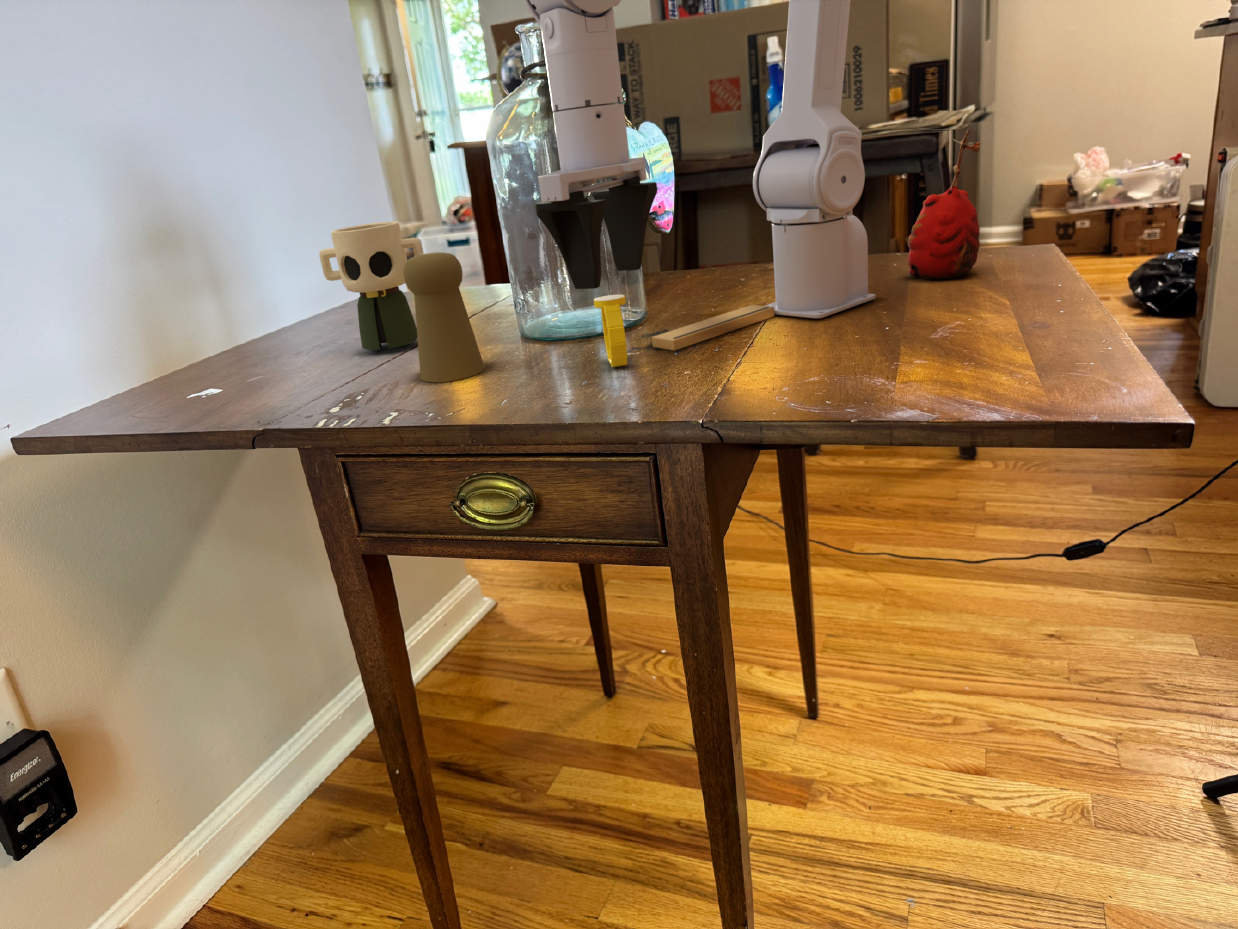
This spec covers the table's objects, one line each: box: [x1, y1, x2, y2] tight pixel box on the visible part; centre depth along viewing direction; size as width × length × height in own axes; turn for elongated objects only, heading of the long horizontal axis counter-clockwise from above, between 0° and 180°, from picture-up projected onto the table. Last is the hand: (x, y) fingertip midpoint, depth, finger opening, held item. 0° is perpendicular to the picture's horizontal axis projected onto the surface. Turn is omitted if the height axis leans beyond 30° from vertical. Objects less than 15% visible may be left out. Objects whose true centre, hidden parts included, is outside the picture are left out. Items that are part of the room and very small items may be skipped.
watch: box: [593, 294, 628, 368], centre depth 74 cm, size 6×3×6 cm, turn 7°
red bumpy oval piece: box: [907, 128, 981, 281], centre depth 91 cm, size 8×7×15 cm
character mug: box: [318, 221, 424, 351], centre depth 91 cm, size 11×7×13 cm, turn 91°
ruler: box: [651, 304, 775, 352], centre depth 82 cm, size 14×3×1 cm, turn 130°
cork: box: [404, 251, 486, 383], centre depth 77 cm, size 6×6×11 cm
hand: (609, 278), depth 73 cm, fingers open, 7 cm apart
